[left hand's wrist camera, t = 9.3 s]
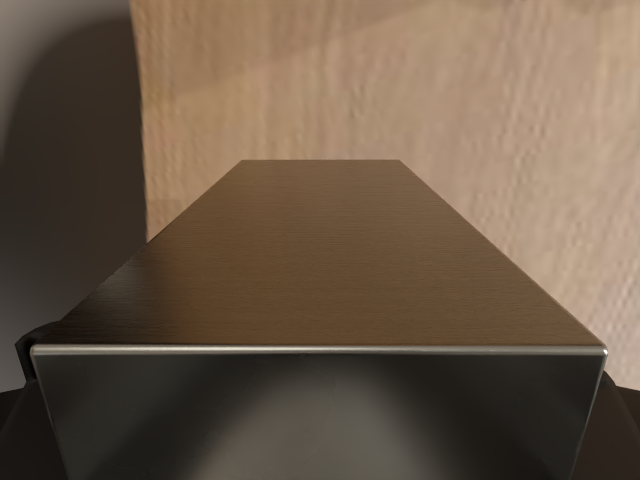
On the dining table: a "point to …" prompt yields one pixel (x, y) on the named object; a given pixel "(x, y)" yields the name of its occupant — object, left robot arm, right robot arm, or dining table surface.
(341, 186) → the box
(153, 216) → the dining table surface
